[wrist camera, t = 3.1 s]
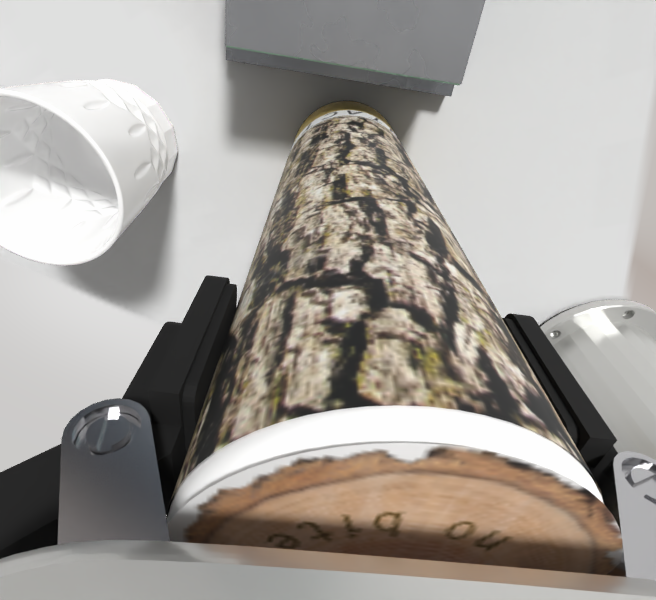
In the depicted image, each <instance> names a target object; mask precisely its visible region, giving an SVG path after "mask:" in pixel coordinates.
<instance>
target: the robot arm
mask: <svg viewBox="0 0 656 600" xmlns="http://www.w3.org/2000/svg"><path fill="white" fill-rule="evenodd" d="M236 302H237V286H236V285H235V284H230V281H229V278H224V277H216V276H208V275H207V276H206V277H205V278H204V280H203V282H202V284H201V286H200V288H199V290H198V292H197V294H196V296H195V298H194V300H193V302H192V304H191V306H190V308H189V310H188V312H187V314H186V316H185V318H184V320H183V322H182V323H176V322H166V323H165V324H164V326H163V327H162V329H161V331H160V332H159V334H158V336H157V338H156V340H155V341H154V343H153V345H152V347H151V348H150V350H149V352H148V354H147V356H146V357H145V359H144V361H143V363H142V364H141V366H140V368H139V369H138V371H137V373H136V375H135V377H134V378H133V380H132V382H131V384H130V385H129V387H128V389H127V391H126V393H125V394H124V396H123V398H122V399H120V398H119V399H109V400H104V401H101V402H97V403H95V404H92V405H90V406H88V407H87V408H85V409H83V410H81V411H80V412H79V413H77V414H76V415H75V416H74V417H73V418H72V419H71V420H70V421H69V423H68V424H67V426H66V427H65V429H64V432H63V436H62V442H61V444H60V445H58V446H56V447H54V448H51V449H49V450H47V451H45V452H43V453H41V454H39V455H37V456H34V457H32V458H30V459H28V460H26V461H24V462H22V463H20V464H17V465H15V466H13V467H11V468H9V469H7V470H5V471H3V472H0V600H656V311H654V310H653V309H652V308H650V307H649V306H646V305H644V304H641V303H639V302H635V301H629V300H623V299H608V300H601V301H594V302H590V303H586V304H583V305H579V306H576V307H574V308H572V309H569V310H567V311H565V312H562V313H560V314H559V315H557V316H555V317H554V318H552V319H550V320H549V321H547V322H546V323H545V324H543V325H542V326H541V327H539V325H538V324H537V322H536V321H535V319H534V318H533V317H531V316H525V315H517V314H508V315H507V316H506V317H505V318H502V319H503V321H504V323H505V325H506V326H507V328H508V330H509V331H510V333H511V335H512V337H513V338H514V340H515V342H516V344H517V345H518V347H519V349H520V350H521V352H522V354H523V356H524V357H525V359H526V361H527V363H528V364H529V366H530V368H531V369H532V371H533V373H534V375H535V376H536V378H537V380H538V382H539V383H540V385H541V387H542V389H543V390H544V392H545V394H546V395H547V397H548V399H549V401H550V402H551V404H552V406H553V408H554V409H555V411H556V413H557V414H558V416H559V418H560V420H561V421H562V423H563V425H564V427H565V428H566V430H567V432H568V433H569V435H570V437H571V439H572V440H573V442H574V444H575V446H576V447H577V449H578V451H579V453H580V454H581V456H582V458H583V459H584V461H585V463H586V465H587V466H588V468H589V470H590V472H591V473H592V475H593V477H594V479H595V480H596V482H597V484H598V486H599V488H600V490H601V493H602V497H603V501H604V505H605V506H606V507H607V509H608V510H609V511H610V512H611V514H612V515H613V517H614V518H615V520H616V522H617V524H618V526H619V529H620V533H621V537H622V550H623V553H622V557H621V561H620V564H618V565H617V566H616V567H615V568H614V569H613V570H612V571H611V572H609V573H608V574H607V575H597V574H586V573H574V572H563V571H551V570H540V569H528V568H516V567H505V566H492V565H480V564H468V563H456V562H444V561H431V560H419V559H406V558H394V557H381V556H369V555H356V554H343V553H330V552H317V551H303V550H290V549H277V548H264V547H251V546H237V545H220V544H203V543H186V542H170V538H169V532H168V525H167V519H166V514H167V511H168V508H169V504H170V501H171V498H172V495H173V492H174V489H175V486H176V483H177V480H178V478H179V475H180V472H181V469H182V466H183V463H184V460H185V457H186V454H187V451H188V448H189V445H190V443H191V440H192V437H193V434H194V431H195V428H196V425H197V422H198V419H199V416H200V413H201V410H202V407H203V405H204V402H205V399H206V396H207V393H208V390H209V387H210V384H211V381H212V378H213V375H214V372H215V370H216V367H217V364H218V361H219V358H220V355H221V352H222V349H223V346H224V343H225V340H226V337H227V335H228V332H229V329H230V326H231V323H232V320H233V317H234V314H235V311H236Z"/></svg>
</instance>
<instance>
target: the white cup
mask: <svg viewBox="0 0 656 600" xmlns="http://www.w3.org/2000/svg"><path fill="white" fill-rule="evenodd" d="M177 153H178V148H177V143H176V138H175V132H174V127H173V125H172V123H171V122H170V120H169V119H168V117H167V115H166V114H165V112H164V111H163V109H162V107H161V106H160V104H159V103H158V102H157V101H156V100H154V99H153V98H152V97H150V96H149V95H148V94H146V93H145V92H144V91H142V90H141V89H140V88H138V87H137V86H136V85H132V84H129V83H125V82H121V81H117V80H113V79H102V80H95V81H90V80H73V81H58V82H45V83H36V84H27V85H19V86H10V87H1V88H0V246H1V247H3V248H5V249H6V250H8V251H10V252H12V253H14V254H16V255H19V256H21V257H24V258H26V259H29V260H32V261H36V262H40V263H44V264H50V265H60V266H67V265H77V264H82V263H86V262H89V261H91V260H94V259H96V258H98V257H99V256H101V255H102V254H104V253H105V252H106V251H107V250H108V249H109V248H110V247H111V246H112V245H113V244H114V243H115V241H116V240H117V239H118V238H119V237H120V236H121V234H122V233H123V232H124V231H125V230H126V229H127V228H128V226H129V225H130V224H131V223H132V222H133V221H134V220H135V219H136V217H137V216H138V215H139V214H140V213H141V212H142V210H143V209H144V208H145V207H146V205H147V204H148V203H149V201H150V200H151V199H152V198H153V196H154V195H155V194H156V193H157V191H158V189H159V188H160V186H161V184H162V183H163V181H164V180H165V179H166V178H167V177H168V176H169V175H170V174H171V173H172V170H173V167H174V163H175V160H176V156H177Z"/></svg>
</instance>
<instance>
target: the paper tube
mask: <svg viewBox="0 0 656 600" xmlns="http://www.w3.org/2000/svg"><path fill="white" fill-rule="evenodd" d="M166 519H167V525H168V532H169V538H170V542H186V543H203V544H220V545H237V546H251V547H264V548H277V549H290V550H303V551H317V552H330V553H343V554H356V555H369V556H381V557H394V558H406V559H419V560H431V561H444V562H456V563H468V564H480V565H492V566H505V567H516V568H528V569H540V570H551V571H563V572H574V573H586V574H597V575H607V574H608V573H609V572H611V571H612V570H613V569H614V568H615V567H616V566H617V565H618V564H620V561H621V557H622V553H623V550H622V537H621V533H620V529H619V526H618V524H617V522H616V520H615V518H614V517H613V515H612V514H611V512H610V511H609V510H608V509H607V507H606V506H605V505H604V501H603V497H602V493H601V490H600V488H599V486H598V484H597V482H596V480H595V479H594V477H593V475H592V473H591V472H590V470H589V468H588V466H587V465H586V463H585V461H584V459H583V458H582V456H581V454H580V453H579V451H578V449H577V447H576V446H575V444H574V442H573V440H572V439H571V437H570V435H569V433H568V432H567V430H566V428H565V427H564V425H563V423H562V421H561V420H560V418H559V416H558V414H557V413H556V411H555V409H554V408H553V406H552V404H551V402H550V401H549V399H548V397H547V395H546V394H545V392H544V390H543V389H542V387H541V385H540V383H539V382H538V380H537V378H536V376H535V375H534V373H533V371H532V369H531V368H530V366H529V364H528V363H527V361H526V359H525V357H524V356H523V354H522V352H521V350H520V349H519V347H518V345H517V344H516V342H515V340H514V338H513V337H512V335H511V333H510V331H509V330H508V328H507V326H506V325H505V323H504V321H503V319H502V318H501V316H500V314H499V312H498V311H497V309H496V307H495V305H494V304H493V302H492V300H491V299H490V297H489V295H488V293H487V292H486V290H485V288H484V286H483V285H482V283H481V281H480V280H479V278H478V276H477V274H476V273H475V271H474V269H473V267H472V266H471V264H470V262H469V261H468V259H467V257H466V255H465V254H464V252H463V250H462V248H461V247H460V245H459V243H458V241H457V240H456V238H455V236H454V235H453V233H452V231H451V229H450V228H449V226H448V224H447V222H446V221H445V219H444V217H443V216H442V214H441V212H440V210H439V209H438V207H437V205H436V203H435V202H434V200H433V198H432V197H431V195H430V193H429V191H428V190H427V188H426V186H425V184H424V183H423V181H422V179H421V177H420V176H419V174H418V172H417V171H416V169H415V167H414V165H413V164H412V162H411V160H410V158H409V157H408V155H407V153H406V152H405V150H404V148H403V146H402V145H401V143H400V141H399V139H398V138H397V136H396V135H395V133H394V132H393V130H392V128H391V126H390V125H389V123H388V122H387V121H386V119H385V118H384V117H383V116H382V115H381V114H380V113H379V112H377V111H376V110H374V109H373V108H371V107H369V106H367V105H365V104H362V103H359V102H354V101H339V102H333V103H330V104H327V105H325V106H323V107H321V108H319V109H317V110H316V111H315V112H313V113H312V114H311V115H310V116H309V117H308V118H307V119H306V120H305V121H304V123H303V124H302V125H301V127H300V129H299V130H298V133H297V135H296V137H295V140H294V143H293V146H292V148H291V151H290V155H289V156H288V159H287V162H286V165H285V168H284V171H283V174H282V177H281V180H280V183H279V186H278V189H277V192H276V194H275V197H274V200H273V203H272V206H271V209H270V212H269V215H268V218H267V221H266V224H265V227H264V229H263V232H262V235H261V238H260V241H259V244H258V247H257V250H256V253H255V256H254V259H253V262H252V264H251V267H250V270H249V273H248V276H247V279H246V282H245V285H244V288H243V291H242V294H241V297H240V300H239V302H238V305H237V308H236V311H235V314H234V317H233V320H232V323H231V326H230V329H229V332H228V335H227V337H226V340H225V343H224V346H223V349H222V352H221V355H220V358H219V361H218V364H217V367H216V370H215V372H214V375H213V378H212V381H211V384H210V387H209V390H208V393H207V396H206V399H205V402H204V405H203V407H202V410H201V413H200V416H199V419H198V422H197V425H196V428H195V431H194V434H193V437H192V440H191V443H190V445H189V448H188V451H187V454H186V457H185V460H184V463H183V466H182V469H181V472H180V475H179V478H178V480H177V483H176V486H175V489H174V492H173V495H172V498H171V501H170V504H169V508H168V511H167V516H166Z"/></svg>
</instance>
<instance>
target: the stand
mask: <svg viewBox="0 0 656 600" xmlns="http://www.w3.org/2000/svg"><path fill="white" fill-rule="evenodd" d="M484 3H485V0H226V60H230V61H236V62H243V63H249V64H255V65H261V66H267V67H273V68H279V69H286V70H292V71H298V72H304V73H310V74H316V75H322V76H329V77H335V78H341V79H347V80H353V81H359V82H365V83H372V84H378V85H384V86H390V87H396V88H402V89H408V90H415V91H421V92H427V93H433V94H439V95H445V96H451V95H452V91H453V88H454V85H460V84H461V83H462V80H463V76H464V73H465V69H466V66H467V63H468V59H469V56H470V52H471V49H472V45H473V42H474V38H475V35H476V31H477V28H478V24H479V21H480V17H481V14H482V10H483V7H484Z"/></svg>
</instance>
